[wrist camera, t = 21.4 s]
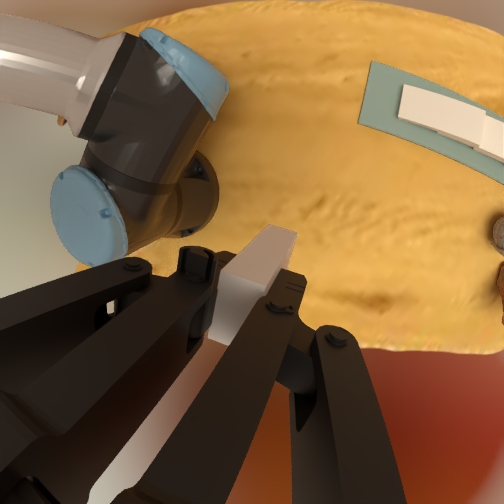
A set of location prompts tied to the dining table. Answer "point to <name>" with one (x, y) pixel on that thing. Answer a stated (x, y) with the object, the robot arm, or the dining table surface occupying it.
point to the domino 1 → (442, 114)
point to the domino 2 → (489, 138)
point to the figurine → (501, 288)
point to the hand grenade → (499, 236)
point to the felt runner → (386, 119)
